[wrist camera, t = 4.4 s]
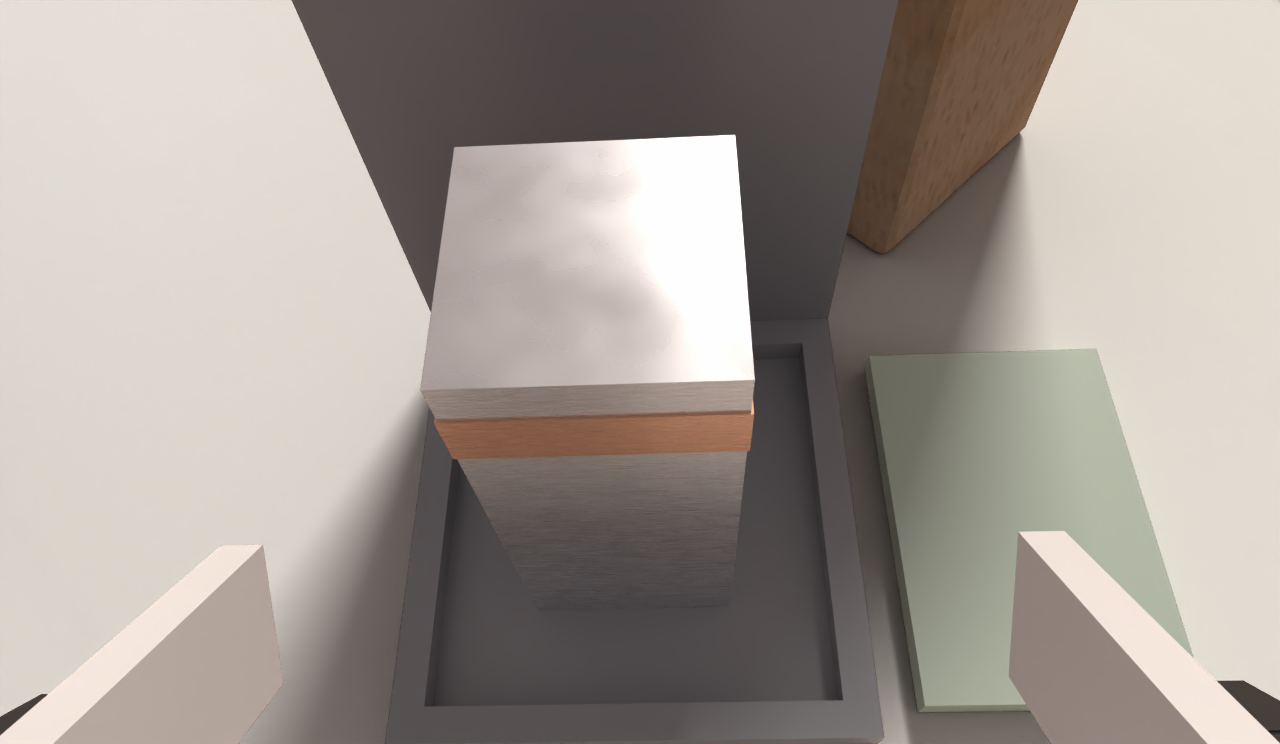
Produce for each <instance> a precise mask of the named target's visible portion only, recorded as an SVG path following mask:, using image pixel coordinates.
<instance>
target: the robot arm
mask: <svg viewBox="0 0 1280 744" xmlns="http://www.w3.org/2000/svg"><path fill="white" fill-rule="evenodd" d="M1009 678H1010V679H1011V681H1012V683H1013V684H1014V686H1015V687H1016V689H1017V691H1018V692H1019V694H1020V695H1021V697H1022V699H1023V700H1024V702H1025V703H1026V705H1027V706H1028V708H1029V710H1030V711H1031V713H1032V714H1033V716H1034V718H1035V719H1036V721H1037V722H1038V724H1039V726H1040V727H1041V729H1042V730H1043V732H1044V734H1045V735H1046V737H1047V738H1048V740H1049V741H1050V743H1051V744H1280V701H1279V700H1277V699H1276V698H1274V697H1272V696H1270V695H1268V694H1267V693H1265V692H1263V691H1261V690H1259V689H1258V688H1256V687H1254V686H1252V685H1250V684H1249V683H1247V682H1245V681H1216V680H1215V679H1214V678H1213V677H1212V676H1211V675H1210V674H1209V673H1208V672H1207V671H1206V670H1205V669H1204V668H1203V667H1202V666H1201V665H1200V664H1199V663H1198V662H1197V661H1196V660H1195V659H1194V658H1193V657H1192V656H1191V655H1190V654H1189V653H1188V652H1187V651H1186V650H1185V649H1184V648H1183V647H1182V646H1181V645H1180V644H1179V643H1178V642H1177V641H1176V640H1175V639H1174V638H1173V637H1172V636H1171V635H1169V634H1168V633H1167V632H1166V631H1165V630H1164V629H1163V628H1162V627H1161V626H1160V625H1159V624H1158V623H1157V622H1156V621H1155V620H1154V619H1153V618H1152V617H1151V616H1150V615H1149V614H1148V613H1147V612H1146V611H1145V610H1144V609H1143V608H1142V607H1141V606H1140V605H1139V604H1138V603H1137V602H1136V601H1135V600H1134V599H1133V598H1132V597H1131V596H1130V595H1129V594H1128V593H1127V592H1126V591H1125V590H1124V589H1123V588H1122V587H1121V586H1120V585H1119V584H1118V583H1117V582H1116V581H1115V580H1114V579H1113V578H1112V577H1111V576H1110V575H1109V574H1108V573H1107V572H1106V571H1104V570H1103V569H1102V568H1101V567H1100V566H1099V565H1098V564H1097V563H1096V562H1095V561H1094V560H1093V559H1092V558H1091V557H1090V556H1089V555H1088V554H1087V553H1086V552H1085V551H1084V550H1083V549H1082V548H1081V547H1080V546H1079V545H1078V544H1077V543H1076V542H1075V541H1074V540H1073V539H1072V538H1071V537H1070V536H1069V535H1068V534H1067V533H1066V532H1065V531H1031V532H1018V543H1017V557H1016V572H1015V587H1014V602H1013V616H1012V631H1011V646H1010V661H1009ZM282 684H283V677H282V670H281V663H280V657H279V650H278V643H277V637H276V630H275V623H274V616H273V610H272V603H271V596H270V589H269V583H268V576H267V569H266V562H265V556H264V549H263V545H223V546H220V547H218V548H217V549H216V550H215V551H214V552H213V553H211V554H210V555H209V556H208V557H207V558H206V559H205V560H203V561H202V562H201V563H200V564H199V565H198V566H196V567H195V568H194V569H193V570H192V571H191V572H189V573H188V574H187V575H186V576H185V577H184V578H182V579H181V580H180V581H179V582H178V583H177V584H176V585H174V586H173V587H172V588H171V589H170V590H169V591H167V592H166V593H165V594H164V595H163V596H162V597H160V598H159V599H158V600H157V601H156V602H155V603H153V604H152V605H151V606H150V607H149V608H148V609H147V610H145V611H144V612H143V613H142V614H141V615H140V616H138V617H137V618H136V619H135V620H134V621H133V622H131V623H130V624H129V625H128V626H127V627H126V628H124V629H123V630H122V631H121V632H120V633H119V634H118V635H116V636H115V637H114V638H113V639H112V640H111V641H109V642H108V643H107V644H106V645H105V646H104V647H102V648H101V649H100V650H99V651H98V652H97V653H95V654H94V655H93V656H92V657H91V658H90V659H89V660H87V661H86V662H85V663H84V664H83V665H82V666H80V667H79V668H78V669H77V670H76V671H75V672H73V673H72V674H71V675H70V676H69V677H68V678H66V679H65V680H64V681H63V682H62V683H61V684H60V685H58V686H57V687H56V688H55V689H54V690H53V691H51V692H50V693H49V694H41V695H39V696H37V697H35V698H34V699H32V700H30V701H28V702H26V703H24V704H23V705H21V706H19V707H17V708H15V709H14V710H12V711H10V712H8V713H6V714H4V715H3V716H1V717H0V744H239V742H240V741H241V740H242V738H243V737H244V736H245V734H246V733H247V731H248V730H249V729H250V727H251V726H252V725H253V723H254V722H255V721H256V719H257V718H258V717H259V715H260V714H261V713H262V711H263V710H264V709H265V707H266V706H267V705H268V703H269V702H270V700H271V699H272V698H273V696H274V695H275V694H276V692H277V691H278V690H279V688H280V687H281V686H282Z"/></svg>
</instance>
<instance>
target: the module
mask: <svg viewBox="0 0 1280 744" xmlns="http://www.w3.org/2000/svg"><path fill="white" fill-rule="evenodd" d="M754 382H755V376H754V364H753V352H752V339H751V327H750V314H749V302H748V290H747V277H746V265H745V253H744V240H743V228H742V216H741V203H740V191H739V179H738V166H737V154H736V141H735V135H726V136H702V137H679V138H656V139H633V140H609V141H586V142H563V143H540V144H517V145H493V146H470V147H454V153H453V160H452V167H451V174H450V181H449V189H448V196H447V203H446V210H445V217H444V224H443V231H442V238H441V246H440V253H439V260H438V267H437V274H436V281H435V288H434V296H433V303H432V310H431V317H430V324H429V331H428V338H427V345H426V353H425V360H424V367H423V374H422V381H421V388H420V391H421V393H422V394H423V396H424V398H425V400H426V402H427V404H428V406H429V408H430V409H431V411H432V413H433V415H434V417H435V419H434V425H435V426H436V428H437V430H438V432H439V434H440V436H441V438H442V439H443V441H444V443H445V445H446V447H447V449H448V450H449V452H450V454H451V456H452V458H453V459H457V460H458V462H459V464H460V466H461V467H462V469H463V471H464V473H465V475H466V477H467V479H468V481H469V482H470V484H471V486H472V488H473V490H474V492H475V494H476V496H477V497H478V499H479V501H480V503H481V505H482V507H483V509H484V510H485V512H486V514H487V516H488V518H489V520H490V522H491V524H492V525H493V527H494V529H495V531H496V533H497V535H498V537H499V539H500V540H501V542H502V544H503V546H504V548H505V550H506V552H507V554H508V555H509V557H510V559H511V561H512V563H513V565H514V567H515V569H516V570H517V572H518V574H519V576H520V578H521V580H522V582H523V584H524V585H525V587H526V589H527V591H528V593H529V595H530V597H531V599H532V600H533V602H534V604H535V606H536V608H537V610H538V611H563V610H614V609H665V608H716V607H730V602H731V592H732V583H733V574H734V565H735V556H736V547H737V538H738V529H739V519H740V510H741V501H742V492H743V483H744V474H745V465H746V455H747V451H750V445H751V437H752V428H753V420H754V406H753V392H754Z"/></svg>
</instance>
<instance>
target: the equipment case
mask: <svg viewBox="0 0 1280 744" xmlns="http://www.w3.org/2000/svg"><path fill="white" fill-rule="evenodd" d="M292 2H293V4H294V6H295V9H296V11H297V13H298V15H299V18H300V20H301V22H302V24H303V27H304V29H305V31H306V33H307V36H308V38H309V40H310V42H311V45H312V47H313V49H314V51H315V54H316V56H317V58H318V60H319V62H320V65H321V67H322V69H323V71H324V74H325V76H326V78H327V80H328V83H329V85H330V87H331V89H332V92H333V94H334V96H335V98H336V101H337V103H338V105H339V107H340V110H341V112H342V114H343V116H344V119H345V121H346V123H347V125H348V127H349V130H350V132H351V134H352V136H353V139H354V141H355V143H356V145H357V148H358V150H359V152H360V154H361V157H362V159H363V161H364V163H365V166H366V168H367V170H368V172H369V175H370V177H371V179H372V181H373V183H374V186H375V188H376V190H377V192H378V195H379V197H380V199H381V201H382V204H383V206H384V208H385V210H386V213H387V215H388V217H389V219H390V222H391V224H392V226H393V228H394V231H395V233H396V235H397V237H398V240H399V242H400V244H401V246H402V248H403V251H404V253H405V255H406V257H407V260H408V262H409V264H410V266H411V269H412V271H413V273H414V275H415V278H416V280H417V282H418V284H419V287H420V289H421V291H422V293H423V296H424V298H425V300H426V302H427V305H428V307H429V309H430V311H431V310H432V303H433V296H434V288H435V281H436V274H437V267H438V260H439V253H440V246H441V238H442V231H443V224H444V217H445V210H446V203H447V196H448V189H449V181H450V174H451V167H452V160H453V153H454V147H470V146H493V145H517V144H540V143H563V142H586V141H609V140H633V139H656V138H679V137H702V136H726V135H735V141H736V154H737V166H738V179H739V191H740V203H741V216H742V228H743V240H744V253H745V265H746V277H747V290H748V302H749V314H750V327H751V339H752V352H753V364H754V376H755V382H754V392H753V406H754V420H753V428H752V437H751V445H750V451H747V455H746V465H745V474H744V483H743V492H742V501H741V510H740V519H739V529H738V538H737V547H736V556H735V565H734V574H733V583H732V592H731V602H730V607H716V608H665V609H614V610H563V611H538V610H537V608H536V606H535V604H534V602H533V600H532V599H531V597H530V595H529V593H528V591H527V589H526V587H525V585H524V584H523V582H522V580H521V578H520V576H519V574H518V572H517V570H516V569H515V567H514V565H513V563H512V561H511V559H510V557H509V555H508V554H507V552H506V550H505V548H504V546H503V544H502V542H501V540H500V539H499V537H498V535H497V533H496V531H495V529H494V527H493V525H492V524H491V522H490V520H489V518H488V516H487V514H486V512H485V510H484V509H483V507H482V505H481V503H480V501H479V499H478V497H477V496H476V494H475V492H474V490H473V488H472V486H471V484H470V482H469V481H468V479H467V477H466V475H465V473H464V471H463V469H462V467H461V466H460V464H459V462H458V460H457V459H453V458H452V456H451V454H450V452H449V450H448V449H447V447H446V445H445V443H444V441H443V439H442V438H441V436H440V434H439V432H438V430H437V428H436V426H435V425H434V419H435V417H434V415H433V413H432V411H431V409H430V408H429V416H428V423H427V431H426V438H425V446H424V453H423V461H422V468H421V476H420V484H419V491H418V499H417V506H416V514H415V521H414V529H413V536H412V544H411V551H410V559H409V567H408V574H407V582H406V589H405V597H404V604H403V612H402V619H401V627H400V634H399V642H398V650H397V657H396V665H395V672H394V680H393V687H392V695H391V702H390V710H389V717H388V725H387V733H386V740H385V744H878V743H879V742H880V741H881V740H882V739H883V738H884V733H883V725H882V718H881V710H880V703H879V696H878V688H877V681H876V673H875V666H874V658H873V651H872V644H871V636H870V629H869V621H868V614H867V607H866V599H865V592H864V584H863V577H862V569H861V562H860V555H859V547H858V540H857V532H856V525H855V518H854V510H853V503H852V495H851V488H850V480H849V473H848V466H847V458H846V451H845V443H844V436H843V429H842V421H841V414H840V406H839V399H838V391H837V384H836V377H835V369H834V362H833V354H832V347H831V339H830V332H829V325H828V315H829V310H830V306H831V301H832V297H833V292H834V288H835V283H836V279H837V274H838V270H839V265H840V261H841V256H842V252H843V247H844V243H845V238H846V234H847V229H848V225H849V220H850V216H851V211H852V207H853V202H854V198H855V193H856V189H857V184H858V180H859V175H860V171H861V166H862V162H863V157H864V153H865V148H866V144H867V139H868V135H869V130H870V126H871V121H872V116H873V112H874V107H875V103H876V98H877V94H878V89H879V85H880V80H881V76H882V71H883V67H884V62H885V58H886V53H887V49H888V44H889V40H890V35H891V31H892V26H893V22H894V17H895V13H896V8H897V4H898V0H292Z"/></svg>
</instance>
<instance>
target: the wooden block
mask: <svg viewBox="0 0 1280 744" xmlns="http://www.w3.org/2000/svg"><path fill="white" fill-rule="evenodd" d="M1077 2H1078V0H898V4H897V8H896V13H895V17H894V22H893V26H892V31H891V35H890V40H889V44H888V49H887V53H886V58H885V62H884V67H883V71H882V76H881V80H880V85H879V89H878V94H877V98H876V103H875V107H874V112H873V116H872V121H871V126H870V130H869V135H868V139H867V144H866V148H865V153H864V157H863V162H862V166H861V171H860V175H859V180H858V184H857V189H856V193H855V198H854V202H853V207H852V211H851V216H850V220H849V225H848V229H847V233H849V234H850V235H852V236H853V237H855V238H856V239H858V240H859V241H861V242H862V243H864V244H865V245H866V246H868V247H869V248H871V249H872V250H874V251H875V252H878V253H882V254H884V253H886V252H889V251H890V250H891V249H892V248H894V247H895V246H896V245H897V244H898V243H899V242H900V241H901V240H902V239H903V238H905V237H906V236H907V235H908V234H909V233H910V232H911V231H912V230H913V229H914V228H915V227H917V226H918V225H919V224H920V223H921V222H922V221H923V220H924V219H925V218H926V217H927V216H929V215H930V214H931V213H932V212H933V211H934V210H935V209H936V208H937V207H938V206H939V205H941V204H942V203H943V202H944V201H945V200H946V199H947V198H948V197H949V196H950V195H951V194H953V193H954V192H955V191H956V190H957V189H958V188H959V187H960V186H961V185H962V184H963V183H965V182H966V181H967V180H968V179H969V178H970V177H971V176H972V175H973V174H974V173H975V172H977V171H978V170H979V169H980V168H981V167H982V166H983V165H984V164H985V163H986V162H987V161H989V160H990V159H991V158H992V157H993V156H994V155H995V154H996V153H997V152H998V151H999V150H1001V149H1002V148H1003V147H1004V146H1005V145H1006V144H1007V143H1008V142H1009V141H1010V140H1011V139H1013V138H1014V137H1015V136H1016V135H1017V134H1018V133H1019V132H1020V131H1021V130H1022V129H1023V128H1025V126H1026V124H1027V121H1028V119H1029V116H1030V114H1031V112H1032V109H1033V107H1034V104H1035V102H1036V100H1037V97H1038V95H1039V93H1040V90H1041V88H1042V85H1043V83H1044V81H1045V78H1046V76H1047V73H1048V71H1049V69H1050V66H1051V64H1052V62H1053V59H1054V57H1055V54H1056V52H1057V50H1058V47H1059V45H1060V42H1061V40H1062V38H1063V35H1064V33H1065V31H1066V28H1067V26H1068V23H1069V21H1070V19H1071V16H1072V14H1073V11H1074V9H1075V7H1076V4H1077Z"/></svg>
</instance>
